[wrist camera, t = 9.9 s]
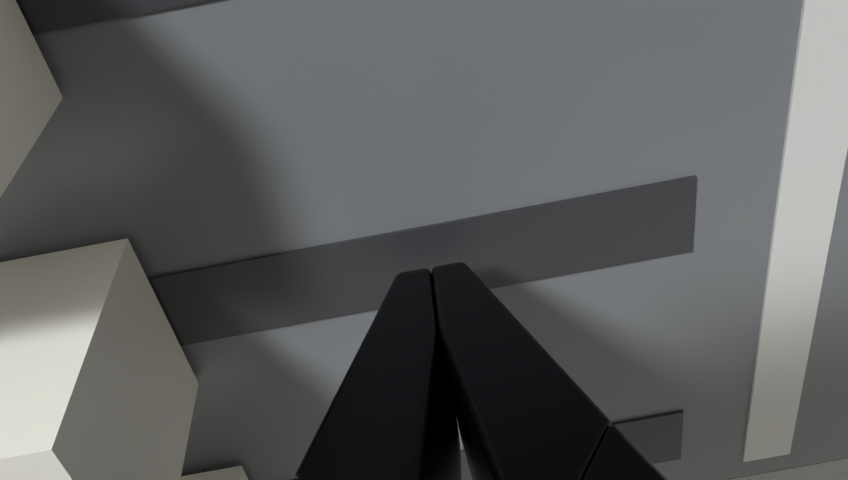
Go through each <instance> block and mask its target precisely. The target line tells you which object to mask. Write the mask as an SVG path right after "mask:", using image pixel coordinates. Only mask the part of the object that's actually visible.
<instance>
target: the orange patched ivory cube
mask: <svg viewBox="0 0 848 480" xmlns="http://www.w3.org/2000/svg"><path fill="white" fill-rule="evenodd" d="M198 384H199V383H198V381H197V379H196V377H195V375H194V373H193V371H192V369H191V367H190V365H189V363H188V361H187V358H186V356H185V354H184V352H183V350H182V348H181V346H180V344H179V342H178V340H177V338H176V336H175V334H174V332H173V330H172V328H171V326H170V324H169V322H168V320H167V318H166V316H165V313H164V311H163V309H162V307H161V305H160V303H159V301H158V299H157V297H156V295H155V293H154V291H153V289H152V287H151V285H150V283H149V281H148V279H147V277H146V275H145V273H144V270H143V268H142V266H141V264H140V262H139V260H138V258H137V256H136V254H135V252H134V250H133V248H132V246H131V244H130V242H129V240H128V238H127V239H121V240H116V241H111V242H105V243H100V244H95V245H89V246H84V247H79V248H73V249H68V250H63V251H57V252H52V253H47V254H42V255H36V256H31V257H26V258H20V259H15V260H10V261H4V262H0V480H180V479H181V474H182V468H183V463H184V458H185V452H186V447H187V442H188V437H189V431H190V426H191V421H192V415H193V410H194V405H195V400H196V394H197V389H198Z"/></svg>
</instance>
